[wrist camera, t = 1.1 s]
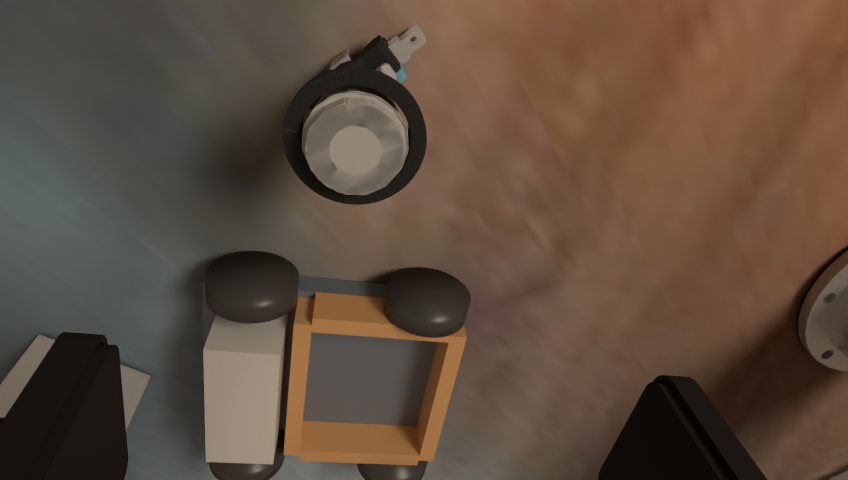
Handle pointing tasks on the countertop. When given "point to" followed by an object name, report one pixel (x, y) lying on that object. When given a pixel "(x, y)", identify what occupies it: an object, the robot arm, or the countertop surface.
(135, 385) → the milk carton
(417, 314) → the chassis
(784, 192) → the countertop surface
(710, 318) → the countertop surface
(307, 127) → the push button
